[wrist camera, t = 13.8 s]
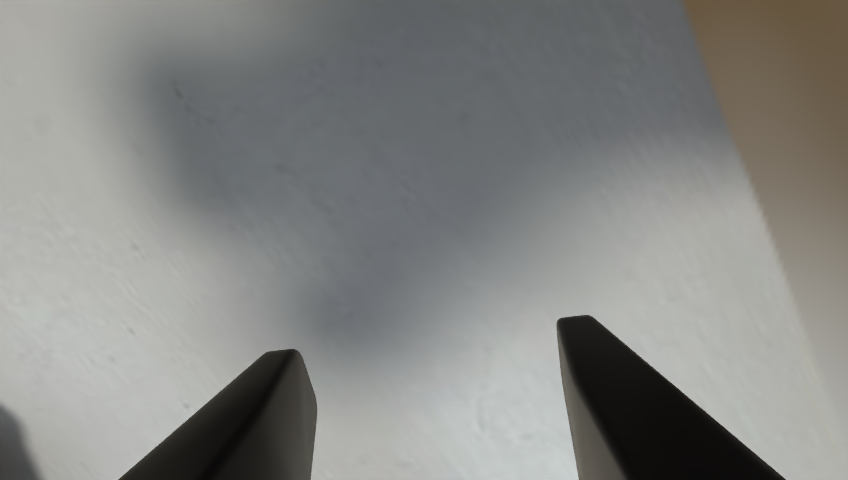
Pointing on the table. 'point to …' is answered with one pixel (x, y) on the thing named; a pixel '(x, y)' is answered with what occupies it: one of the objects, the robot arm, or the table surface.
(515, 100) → the table surface
